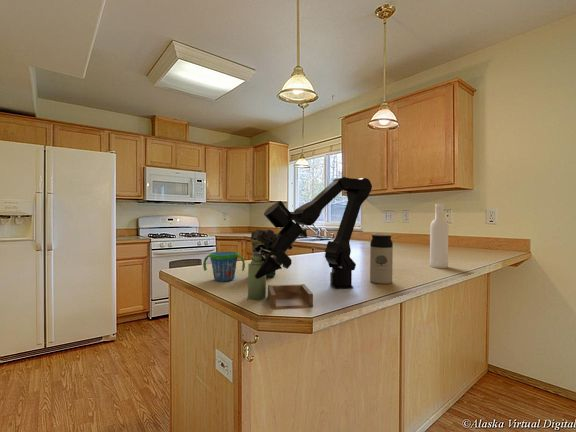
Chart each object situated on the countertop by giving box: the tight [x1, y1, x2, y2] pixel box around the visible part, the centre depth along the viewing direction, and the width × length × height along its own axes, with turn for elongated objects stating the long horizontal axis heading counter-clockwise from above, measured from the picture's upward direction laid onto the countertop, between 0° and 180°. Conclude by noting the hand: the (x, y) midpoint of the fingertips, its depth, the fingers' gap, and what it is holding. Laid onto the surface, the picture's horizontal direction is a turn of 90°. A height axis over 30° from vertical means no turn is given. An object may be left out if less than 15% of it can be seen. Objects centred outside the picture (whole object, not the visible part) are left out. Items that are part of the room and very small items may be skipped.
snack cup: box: [202, 251, 246, 282], centre depth 119 cm, size 16×10×10 cm
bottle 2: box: [429, 203, 449, 269], centre depth 150 cm, size 8×8×30 cm
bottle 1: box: [247, 252, 267, 301], centre depth 95 cm, size 5×5×13 cm
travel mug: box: [369, 232, 394, 285], centre depth 117 cm, size 8×8×18 cm
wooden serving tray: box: [267, 283, 314, 309], centre depth 90 cm, size 11×11×4 cm
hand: (252, 275), depth 94 cm, fingers closed on bottle 1, 5 cm apart
